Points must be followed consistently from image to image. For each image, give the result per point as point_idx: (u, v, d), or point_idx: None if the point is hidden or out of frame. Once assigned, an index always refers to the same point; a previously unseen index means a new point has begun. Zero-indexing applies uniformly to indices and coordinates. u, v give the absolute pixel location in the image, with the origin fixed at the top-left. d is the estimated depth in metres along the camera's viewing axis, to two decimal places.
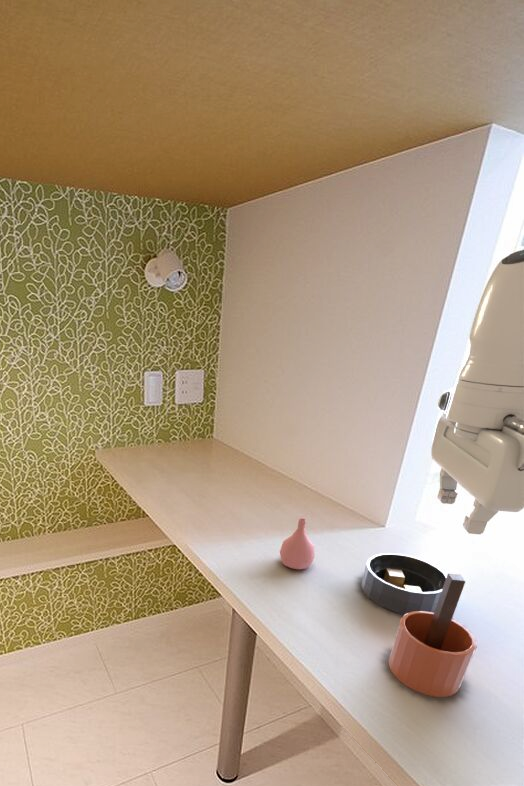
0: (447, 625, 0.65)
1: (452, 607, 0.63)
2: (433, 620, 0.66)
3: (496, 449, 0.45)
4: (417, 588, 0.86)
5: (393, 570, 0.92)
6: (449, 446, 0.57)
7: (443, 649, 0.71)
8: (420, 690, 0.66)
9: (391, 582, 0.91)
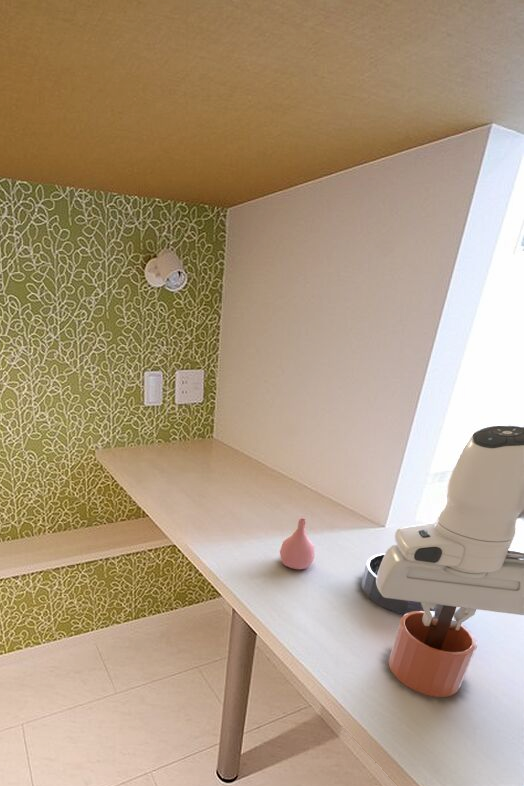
0: (447, 625, 0.65)
1: (452, 608, 0.63)
2: None
3: None
4: None
5: None
6: (427, 584, 0.62)
7: (443, 649, 0.71)
8: (420, 690, 0.66)
9: None
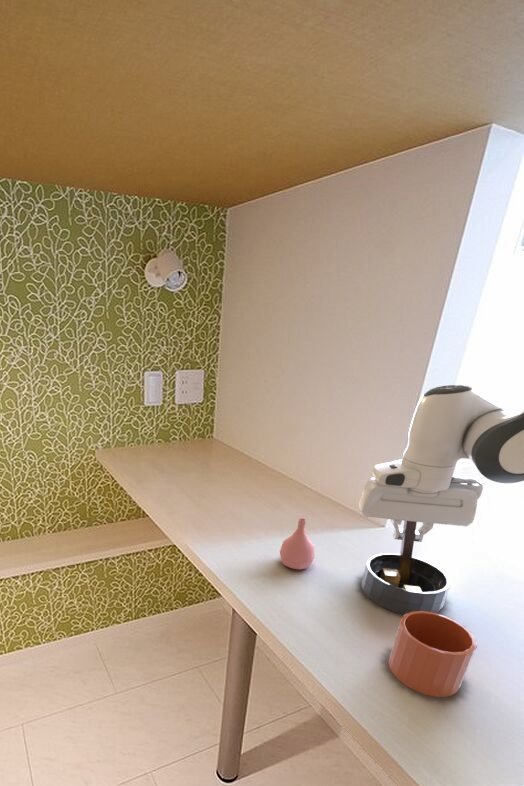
0: (412, 538, 0.87)
1: (413, 524, 0.85)
2: (403, 537, 0.88)
3: (467, 496, 0.80)
4: (417, 588, 0.86)
5: (389, 570, 0.92)
6: (396, 504, 0.84)
7: (443, 649, 0.71)
8: (420, 690, 0.66)
9: (387, 581, 0.91)
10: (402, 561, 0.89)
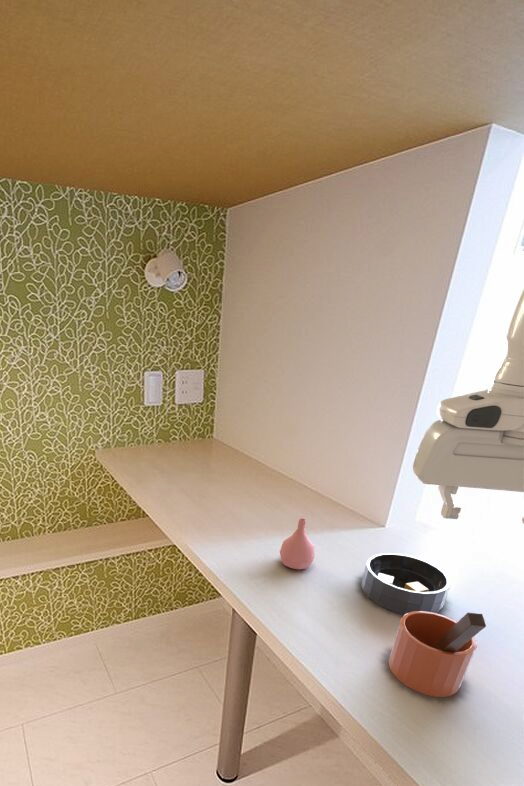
0: (456, 649, 0.62)
1: (465, 640, 0.59)
2: (442, 640, 0.63)
3: None
4: (423, 588, 0.86)
5: (384, 575, 0.90)
6: (478, 462, 0.51)
7: None
8: (420, 690, 0.66)
9: None
10: None
